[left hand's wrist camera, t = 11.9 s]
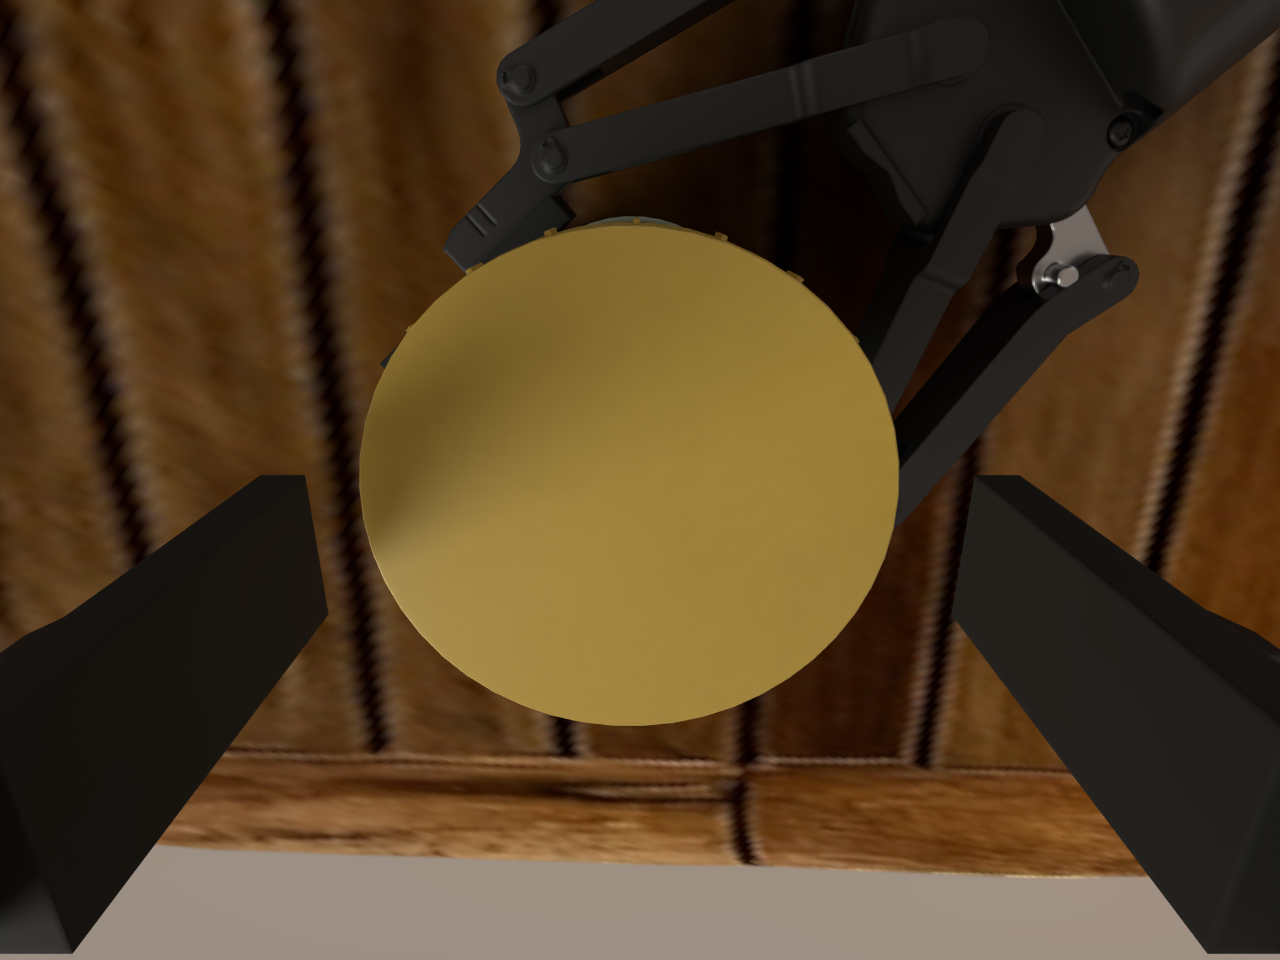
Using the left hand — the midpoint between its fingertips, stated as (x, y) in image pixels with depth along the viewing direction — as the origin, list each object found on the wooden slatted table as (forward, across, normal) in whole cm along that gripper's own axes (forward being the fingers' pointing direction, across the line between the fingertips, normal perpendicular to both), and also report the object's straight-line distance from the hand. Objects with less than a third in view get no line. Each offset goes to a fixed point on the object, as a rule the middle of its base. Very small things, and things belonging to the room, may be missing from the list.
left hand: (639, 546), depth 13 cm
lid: (+1, 0, 0) cm, 1 cm away
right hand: (+10, -4, -2) cm, 11 cm away
